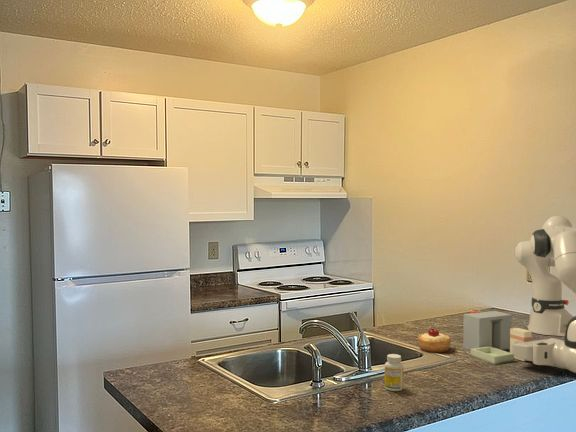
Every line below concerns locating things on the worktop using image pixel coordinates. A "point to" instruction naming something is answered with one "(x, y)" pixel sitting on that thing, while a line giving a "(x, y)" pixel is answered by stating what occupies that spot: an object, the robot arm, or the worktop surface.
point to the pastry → (434, 341)
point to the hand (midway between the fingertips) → (520, 342)
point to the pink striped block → (519, 338)
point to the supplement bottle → (394, 373)
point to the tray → (492, 355)
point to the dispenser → (487, 330)
